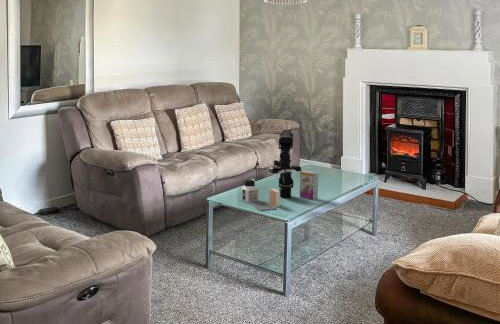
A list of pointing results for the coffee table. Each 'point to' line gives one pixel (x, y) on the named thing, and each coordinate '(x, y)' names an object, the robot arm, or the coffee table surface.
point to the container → (249, 191)
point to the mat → (262, 205)
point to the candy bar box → (309, 185)
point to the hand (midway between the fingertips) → (284, 183)
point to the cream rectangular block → (274, 197)
